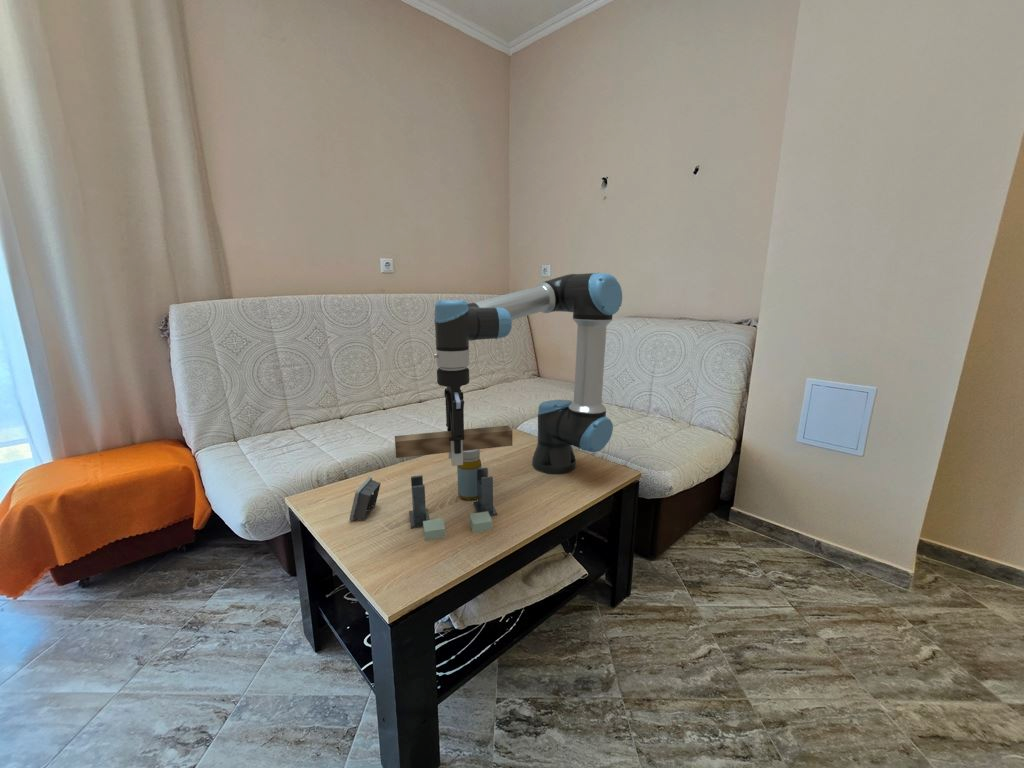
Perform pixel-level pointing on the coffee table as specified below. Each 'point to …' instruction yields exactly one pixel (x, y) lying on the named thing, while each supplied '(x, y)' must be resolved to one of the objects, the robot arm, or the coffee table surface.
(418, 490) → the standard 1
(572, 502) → the coffee table surface
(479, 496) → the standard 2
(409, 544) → the coffee table surface
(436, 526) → the blocks
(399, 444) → the rail
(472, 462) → the bottle
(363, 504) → the electrical switch
